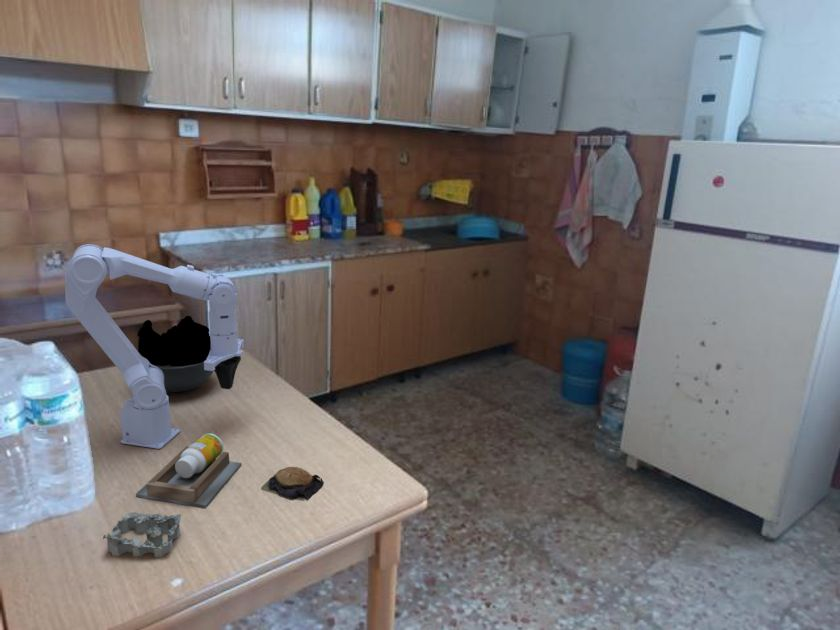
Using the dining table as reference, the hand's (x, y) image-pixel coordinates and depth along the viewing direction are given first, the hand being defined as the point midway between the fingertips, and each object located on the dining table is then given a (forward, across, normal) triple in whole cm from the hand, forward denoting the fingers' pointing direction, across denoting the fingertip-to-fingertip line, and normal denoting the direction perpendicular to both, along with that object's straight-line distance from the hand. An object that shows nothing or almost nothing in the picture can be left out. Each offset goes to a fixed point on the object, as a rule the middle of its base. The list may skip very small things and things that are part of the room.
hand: (226, 387), depth 132 cm
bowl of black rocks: (+10, +15, +21) cm, 28 cm away
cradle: (+10, -21, -3) cm, 24 cm away
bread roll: (+11, -18, -23) cm, 31 cm away
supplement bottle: (+7, -13, -3) cm, 15 cm away
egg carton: (+10, -39, -5) cm, 41 cm away
